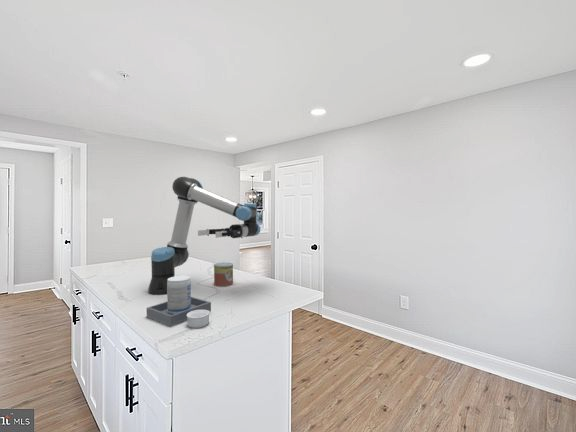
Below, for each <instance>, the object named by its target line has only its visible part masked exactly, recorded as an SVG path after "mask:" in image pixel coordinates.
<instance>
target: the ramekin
mask: <svg viewBox="0 0 576 432" xmlns="http://www.w3.org/2000/svg"><path fill="white" fill-rule="evenodd" d="M210 314H211V311H208V310H194V311H191V312H189V313H188V314H187V325H188V327H190V328H191V329H192V328H193V329H198V328H202V327H205V326H207V325H208V324H209V323H210Z"/></svg>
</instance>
